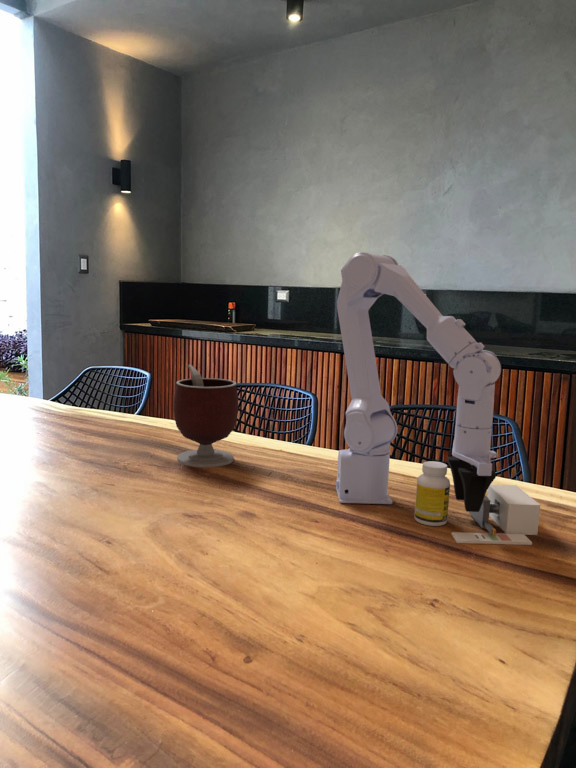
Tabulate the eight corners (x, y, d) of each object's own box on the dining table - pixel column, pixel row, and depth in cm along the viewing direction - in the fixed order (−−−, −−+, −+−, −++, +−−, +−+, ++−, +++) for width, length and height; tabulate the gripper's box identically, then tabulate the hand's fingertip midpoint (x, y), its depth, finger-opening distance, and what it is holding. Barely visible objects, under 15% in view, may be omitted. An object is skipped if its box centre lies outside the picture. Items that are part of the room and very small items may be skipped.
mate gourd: (248, 463, 134) (251, 371, 131) (190, 472, 126) (191, 375, 123) (215, 446, 146) (216, 363, 143) (160, 454, 139) (160, 365, 136)
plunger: (491, 539, 96) (493, 510, 95) (468, 512, 107) (470, 486, 106) (542, 540, 96) (545, 511, 95) (514, 513, 107) (517, 487, 106)
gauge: (457, 542, 94) (459, 511, 94) (434, 510, 108) (436, 482, 108) (548, 545, 95) (551, 514, 94) (513, 512, 109) (516, 485, 108)
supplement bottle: (448, 528, 100) (452, 470, 99) (414, 525, 101) (417, 467, 100) (446, 516, 105) (450, 461, 104) (414, 513, 106) (417, 458, 105)
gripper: (514, 436, 94) (506, 521, 96) (483, 416, 108) (477, 491, 110) (468, 435, 94) (461, 520, 96) (443, 415, 108) (438, 490, 110)
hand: (467, 505), depth 103 cm, fingers closed on plunger, 5 cm apart
